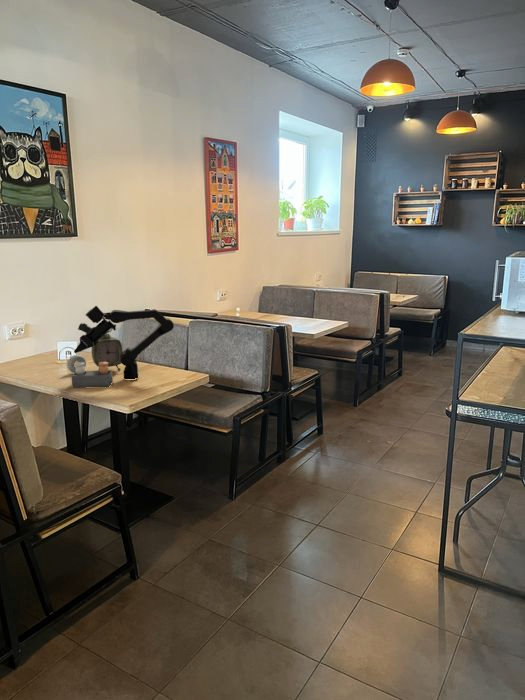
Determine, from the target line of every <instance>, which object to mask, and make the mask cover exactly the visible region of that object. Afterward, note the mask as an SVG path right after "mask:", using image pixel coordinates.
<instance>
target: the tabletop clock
mask: <svg viewBox="0 0 525 700" xmlns="http://www.w3.org/2000/svg"><path fill="white" fill-rule="evenodd" d="M112 331H113V329H112V328H111V329H110V330H109V331H108V332H107V333H106V334H105V335H104V336H103V337H101V338H100V339H99V340H98V343H97V344H96V345H94V346H93V347H91V358H92V361H93V364H95V366H96V367H99V362H108V368H109V367H116V369H117V372H120V371H121V369H122V368H120V367H119V365H121V364H122V363H121V355H122V352H123V345H122V342H121V340H120V339H118V338H117V337H112V336H111V335H110V332H112ZM97 371H99V369H98V370H97Z"/></svg>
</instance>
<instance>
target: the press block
mask: <svg viewBox="0 0 525 700" xmlns="http://www.w3.org/2000/svg"><path fill="white" fill-rule="evenodd" d="M113 379H114V378H113V370H112V369H111V370H109V369H108V374H100V372H99V371H98V370H85V375H76V372H75V373H73V374H72V375H71V388H72V389H87V388H86V387H106V388H110V387H111V386H112V384H113V383H112V382H113V381H114V380H113ZM111 383H112V384H111ZM110 385H111V386H110ZM109 386H110V387H109Z"/></svg>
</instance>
